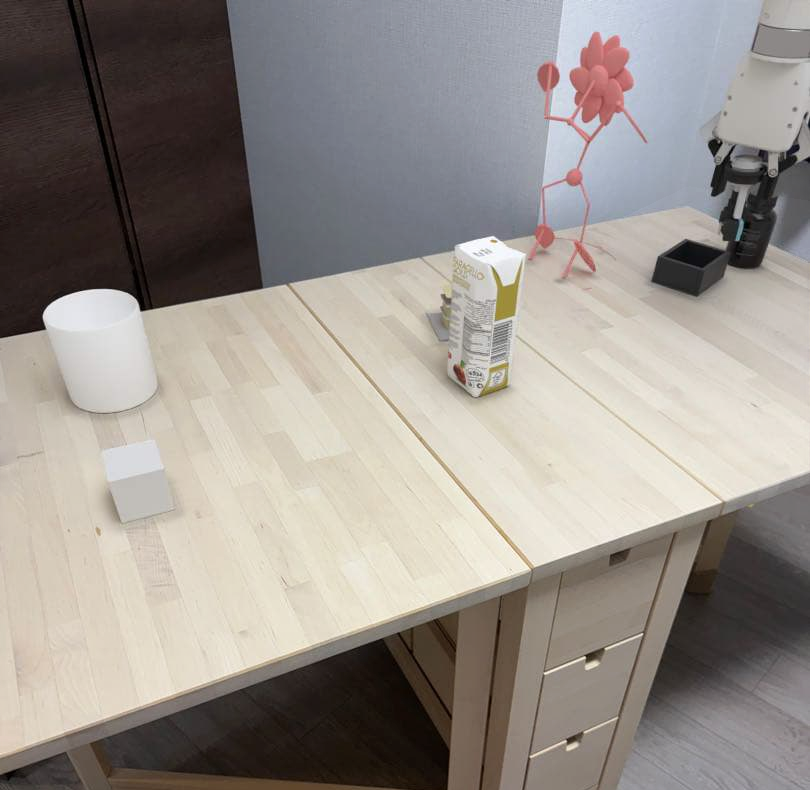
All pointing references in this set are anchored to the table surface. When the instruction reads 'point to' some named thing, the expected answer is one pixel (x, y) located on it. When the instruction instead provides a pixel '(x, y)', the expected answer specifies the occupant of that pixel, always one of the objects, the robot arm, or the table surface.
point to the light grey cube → (137, 480)
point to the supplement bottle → (754, 233)
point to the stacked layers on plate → (443, 315)
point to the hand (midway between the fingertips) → (738, 197)
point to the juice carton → (484, 314)
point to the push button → (739, 193)
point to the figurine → (588, 113)
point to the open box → (690, 267)
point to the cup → (101, 349)
